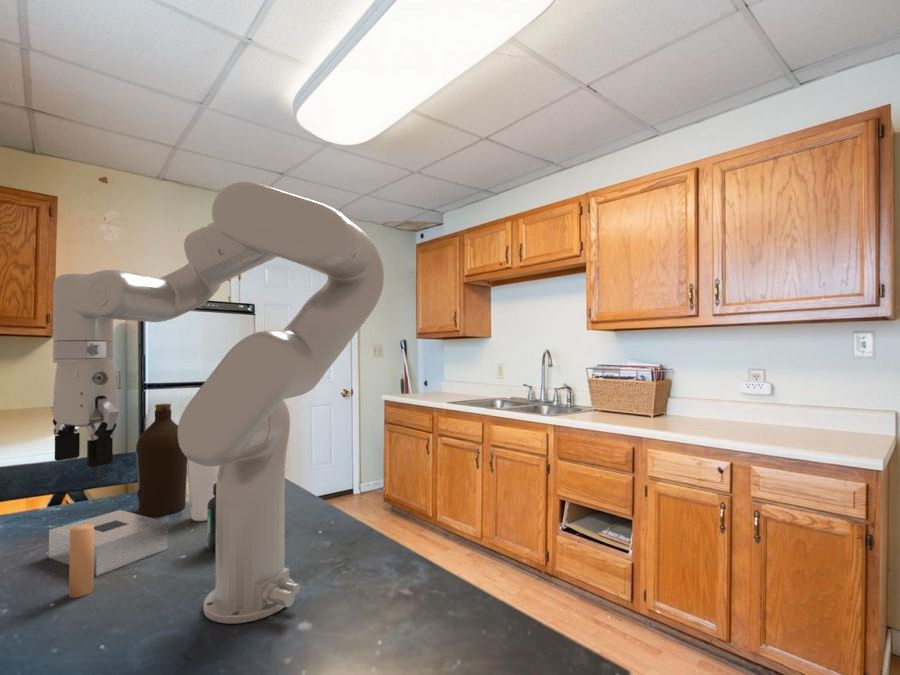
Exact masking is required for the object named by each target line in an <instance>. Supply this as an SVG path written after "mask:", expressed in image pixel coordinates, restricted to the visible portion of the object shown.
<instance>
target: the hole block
mask: <svg viewBox="0 0 900 675" xmlns="http://www.w3.org/2000/svg"><path fill="white" fill-rule="evenodd" d="M86 524H93V525H94V576H95V577H98V576H100V575H103V574H105V573H108V572H110V571H113V570H116V569H119V568H121V567H124V566H126V565H129V564H132V563H134V562H136V561H137V562H138V561H139V560H143V559H145V558H147V557H150V556H153V555H156V554H158V553H160V552H163V551H166V550H167V549H168V548H169V547H168V540H169V539H168V537H169V536H168V533H169V531H168V529H169V527H168V526H169V525H168V524H169V523H168V522H167V521H164V520H161V519H157V518H152V517H145V516H142V515H140V514H139V513H138V514H136V513H134V512H131V511H130V512H129V511H127V510H126V511H125V510H122V509H119V510H115V511H112V512H108V513H103V514H101V515H98V516H94V517H90V518H87V519H84V520H83V519H82V520H80V521H79V520H78V521H76V522H73V523H70V524H66V525H65V524H64V525H63V526H62V525H61V526H58V527H55V528H51V529H49V530H48V558H49V559H51V560H53V559H54V561H57V562H59V563H61V564H65V565H66V564H67V565H66V566H69V564H70V529H71V528H73V527H76V526H80V525H86Z"/></svg>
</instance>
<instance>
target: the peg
mask: <svg viewBox="0 0 900 675" xmlns="http://www.w3.org/2000/svg"><path fill="white" fill-rule="evenodd" d="M68 566H69V569H68V570H69V574H68V575H69V576H68V578H69V580H68V581H69V583H68V584H69V586H68V589H69V590H68V597H69V598H73V599H74V598H76V599H77V598H81V597H84V596H87V595H89V594H91V593H92V592H93V591H95V590H94V585H95V583H94V581H95V577H94V576H95V575H94V525H93V524H86V525H80V526H76V527H73V528H71V529H70V564H69V565H68Z"/></svg>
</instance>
